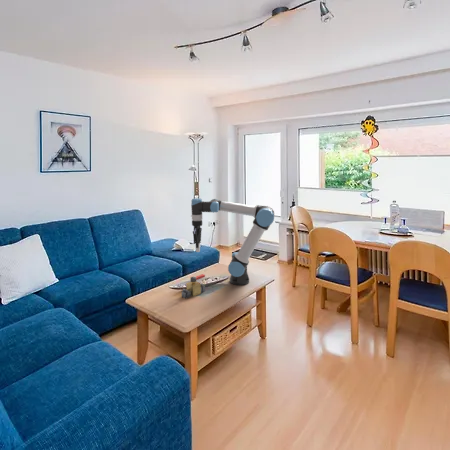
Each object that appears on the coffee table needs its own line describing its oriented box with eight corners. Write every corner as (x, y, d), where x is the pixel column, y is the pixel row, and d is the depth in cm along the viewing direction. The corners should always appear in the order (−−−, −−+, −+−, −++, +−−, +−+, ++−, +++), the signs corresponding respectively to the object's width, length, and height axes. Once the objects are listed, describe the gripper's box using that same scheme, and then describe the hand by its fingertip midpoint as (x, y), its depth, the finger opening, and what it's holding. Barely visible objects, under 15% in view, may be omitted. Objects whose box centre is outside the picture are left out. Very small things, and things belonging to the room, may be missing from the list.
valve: (200, 288, 231) (200, 276, 229) (206, 291, 226) (206, 279, 224) (180, 296, 219) (179, 283, 217) (186, 299, 214) (186, 286, 212)
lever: (193, 282, 218) (193, 279, 217) (189, 281, 221) (189, 277, 220) (205, 277, 226) (205, 274, 226) (201, 276, 229) (201, 273, 229)
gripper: (195, 218, 234) (196, 249, 239) (188, 221, 222) (189, 253, 227) (204, 218, 233) (205, 249, 237) (198, 222, 220) (199, 254, 225)
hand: (197, 251), depth 232 cm, fingers closed
